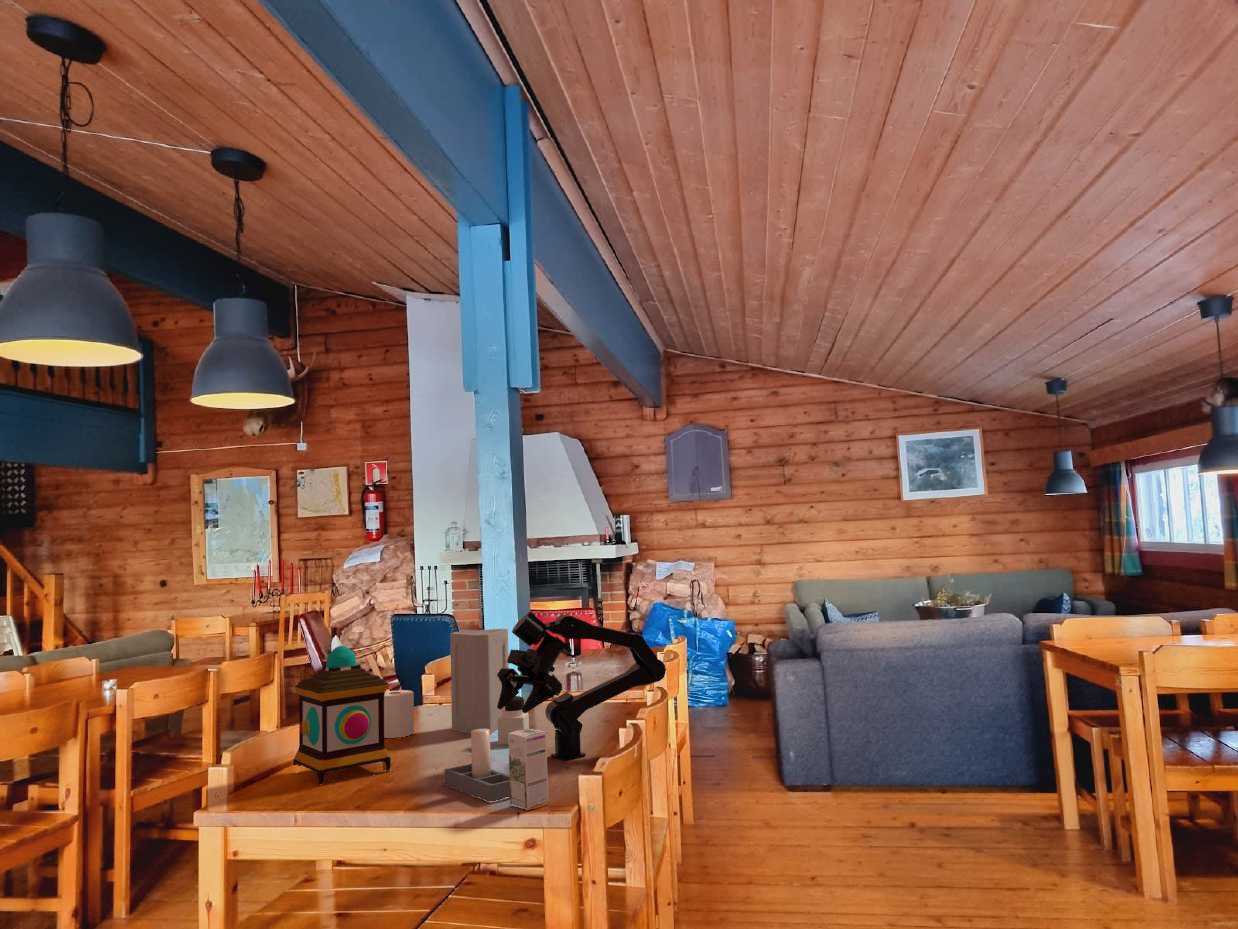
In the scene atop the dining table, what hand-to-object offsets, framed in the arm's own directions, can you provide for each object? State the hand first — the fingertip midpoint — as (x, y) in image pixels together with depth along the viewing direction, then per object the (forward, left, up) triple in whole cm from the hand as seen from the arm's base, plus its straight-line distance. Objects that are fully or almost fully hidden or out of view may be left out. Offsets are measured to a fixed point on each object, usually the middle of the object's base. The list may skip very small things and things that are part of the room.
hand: (510, 710), depth 200 cm
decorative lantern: (+29, +30, -14) cm, 44 cm away
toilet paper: (+60, +2, -14) cm, 62 cm away
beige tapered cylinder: (-11, +14, -13) cm, 22 cm away
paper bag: (+50, -19, -14) cm, 55 cm away
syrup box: (-28, +14, -14) cm, 34 cm away
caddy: (-11, +15, -14) cm, 23 cm away
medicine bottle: (+25, -16, -14) cm, 33 cm away
